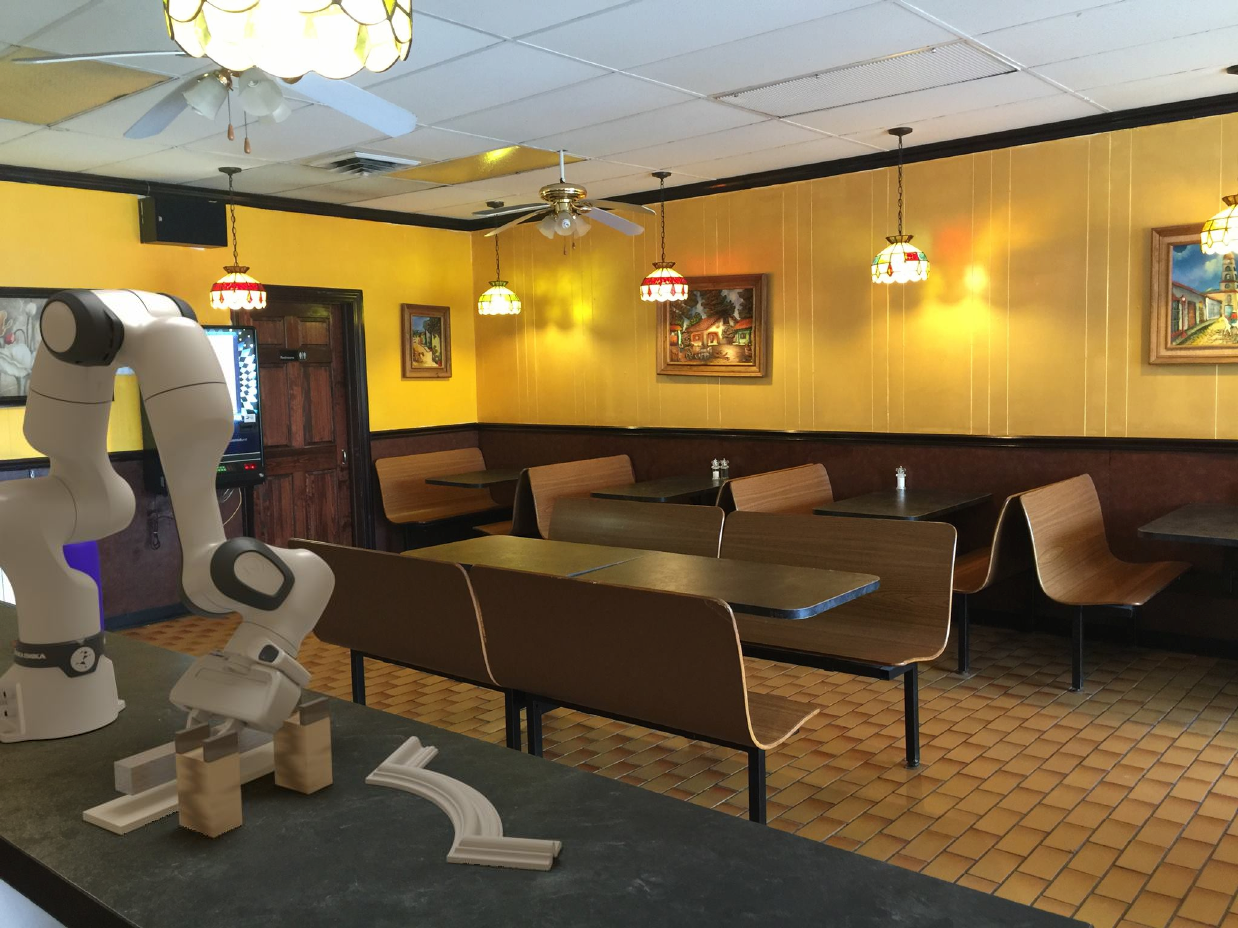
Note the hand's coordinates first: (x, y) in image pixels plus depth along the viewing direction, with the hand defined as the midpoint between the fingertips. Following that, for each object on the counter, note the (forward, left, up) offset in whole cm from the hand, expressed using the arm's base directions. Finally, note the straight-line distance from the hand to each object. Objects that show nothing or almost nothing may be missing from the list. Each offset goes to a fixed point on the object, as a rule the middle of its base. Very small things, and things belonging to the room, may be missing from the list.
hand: (198, 749), depth 130 cm
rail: (0, +1, -2) cm, 2 cm away
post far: (+11, +8, -5) cm, 14 cm away
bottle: (-76, +28, -5) cm, 81 cm away
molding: (+33, +14, -6) cm, 37 cm away
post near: (+11, -6, -5) cm, 14 cm away
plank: (0, +1, -5) cm, 5 cm away
